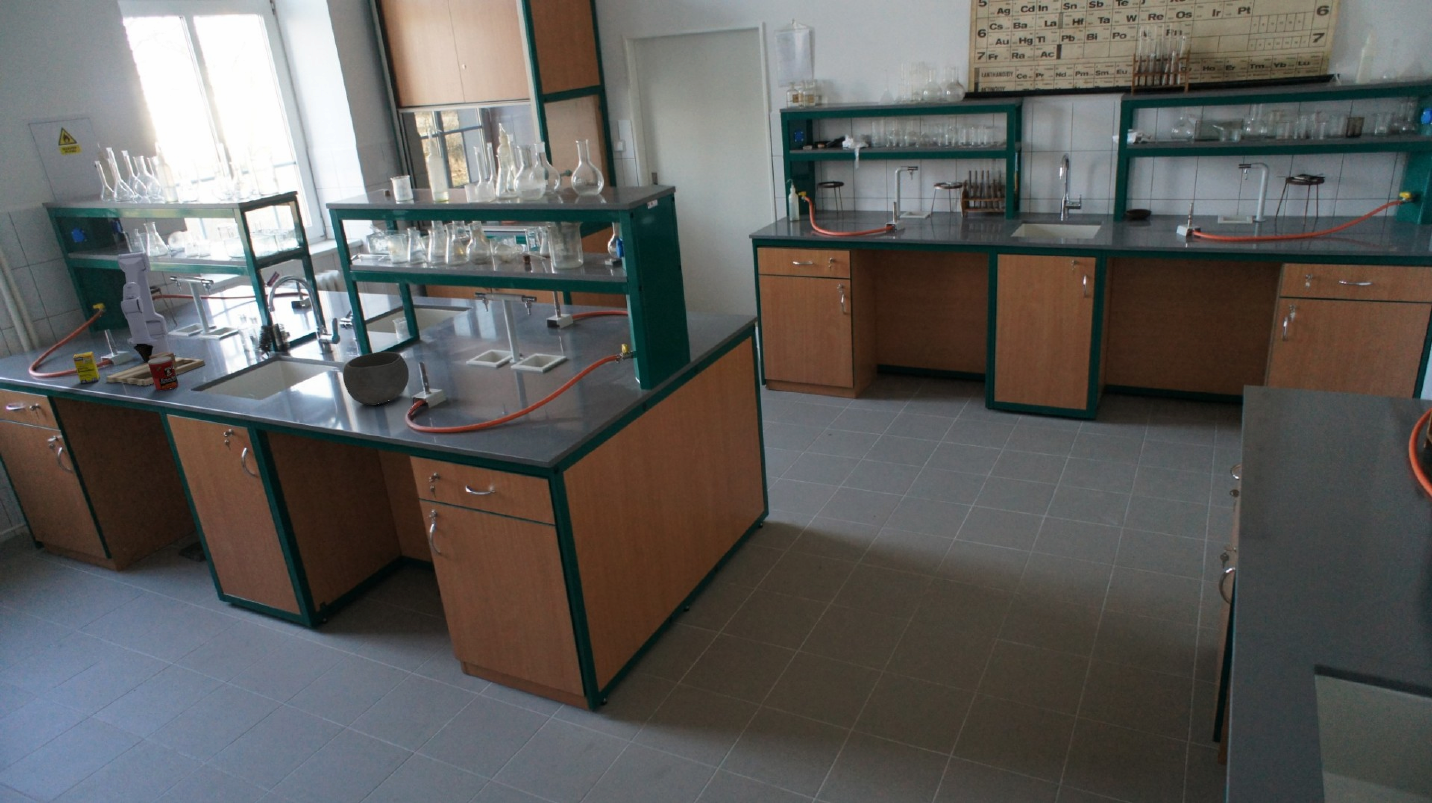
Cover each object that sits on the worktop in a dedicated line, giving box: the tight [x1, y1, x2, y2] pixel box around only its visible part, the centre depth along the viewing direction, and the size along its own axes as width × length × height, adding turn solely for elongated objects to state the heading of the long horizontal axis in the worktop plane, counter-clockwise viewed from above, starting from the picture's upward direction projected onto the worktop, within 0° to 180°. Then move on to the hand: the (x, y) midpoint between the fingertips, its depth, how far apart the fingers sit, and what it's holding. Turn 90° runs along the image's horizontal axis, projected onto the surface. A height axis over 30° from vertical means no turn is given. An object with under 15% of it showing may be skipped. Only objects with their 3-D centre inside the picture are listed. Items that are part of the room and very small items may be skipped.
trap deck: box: [105, 356, 206, 386], centre depth 365 cm, size 22×26×2 cm
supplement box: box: [72, 351, 101, 385], centre depth 359 cm, size 6×6×11 cm
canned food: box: [148, 356, 179, 391], centre depth 346 cm, size 8×8×11 cm
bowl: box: [342, 351, 410, 406], centre depth 316 cm, size 21×21×15 cm
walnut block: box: [149, 351, 177, 368], centre depth 362 cm, size 6×6×6 cm
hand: (148, 361), depth 366 cm, fingers closed
